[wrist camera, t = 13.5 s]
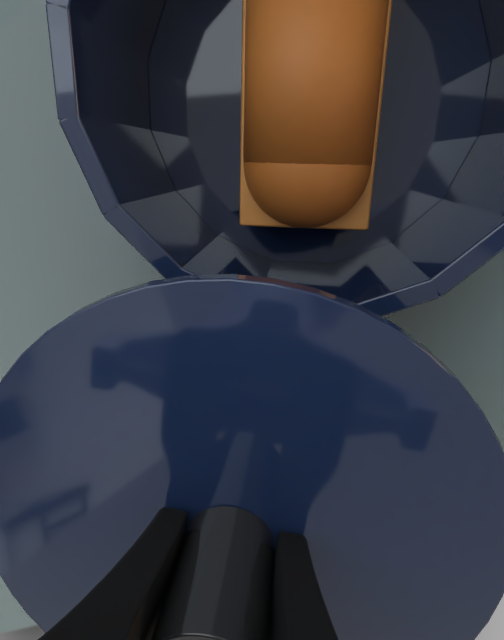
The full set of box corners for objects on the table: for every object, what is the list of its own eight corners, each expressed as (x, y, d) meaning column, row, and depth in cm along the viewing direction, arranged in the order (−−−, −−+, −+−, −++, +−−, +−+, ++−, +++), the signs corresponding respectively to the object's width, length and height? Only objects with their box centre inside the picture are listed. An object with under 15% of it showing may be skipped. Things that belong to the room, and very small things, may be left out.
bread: (254, -44, 15) (233, -135, 11) (383, -47, 15) (419, -141, 10) (249, 215, 18) (230, 234, 13) (357, 218, 18) (376, 239, 13)
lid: (558, 280, 10) (741, 367, 6) (453, 710, 15) (513, 931, 11) (-46, 256, 11) (-253, 312, 7) (34, 656, 16) (-63, 833, 12)
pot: (538, -133, 14) (716, -354, 8) (464, 280, 19) (543, 339, 13) (126, -120, 15) (11, -303, 9) (147, 265, 20) (77, 312, 14)
